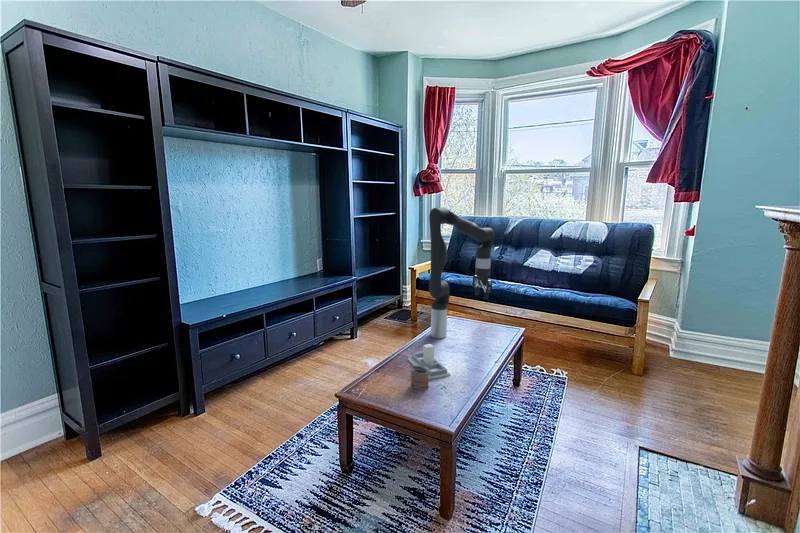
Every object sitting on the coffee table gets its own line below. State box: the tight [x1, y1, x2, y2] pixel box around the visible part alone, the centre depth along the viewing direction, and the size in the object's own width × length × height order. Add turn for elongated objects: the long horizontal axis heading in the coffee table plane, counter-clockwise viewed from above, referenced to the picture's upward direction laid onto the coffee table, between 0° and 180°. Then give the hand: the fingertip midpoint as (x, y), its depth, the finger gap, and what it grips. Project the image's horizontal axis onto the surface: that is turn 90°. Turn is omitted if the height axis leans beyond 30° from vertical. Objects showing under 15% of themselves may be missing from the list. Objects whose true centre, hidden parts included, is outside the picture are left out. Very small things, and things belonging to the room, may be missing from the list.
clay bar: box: [422, 343, 435, 365], centre depth 188 cm, size 4×4×10 cm
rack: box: [408, 351, 451, 380], centre depth 189 cm, size 22×12×3 cm, turn 22°
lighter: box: [410, 365, 430, 391], centre depth 169 cm, size 8×3×10 cm, turn 71°
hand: (481, 297), depth 203 cm, fingers open, 8 cm apart
